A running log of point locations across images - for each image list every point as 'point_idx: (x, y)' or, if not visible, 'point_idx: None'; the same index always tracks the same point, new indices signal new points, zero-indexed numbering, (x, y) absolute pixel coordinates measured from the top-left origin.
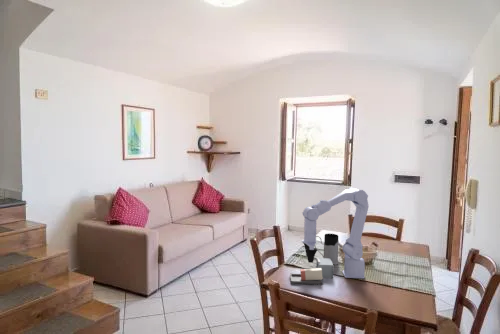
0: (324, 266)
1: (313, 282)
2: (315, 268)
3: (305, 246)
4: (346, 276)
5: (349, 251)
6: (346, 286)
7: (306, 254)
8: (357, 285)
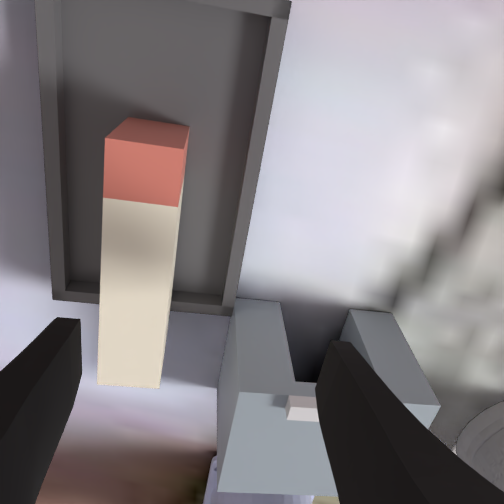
0: (229, 418)
1: (49, 228)
2: (162, 333)
3: (408, 495)
4: None
5: None
6: (71, 429)
7: (340, 362)
8: (96, 481)
